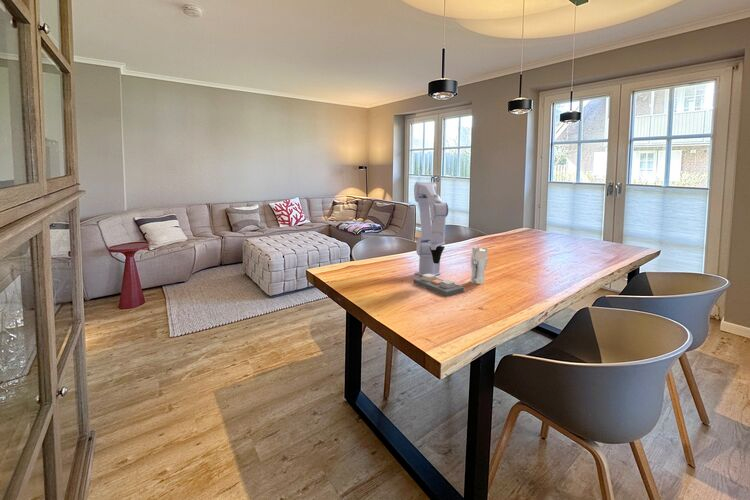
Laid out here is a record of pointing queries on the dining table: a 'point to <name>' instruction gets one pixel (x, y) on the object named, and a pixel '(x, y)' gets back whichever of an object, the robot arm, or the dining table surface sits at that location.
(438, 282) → the terracotta key
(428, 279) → the cream key
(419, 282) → the key board
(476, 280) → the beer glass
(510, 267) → the dining table surface
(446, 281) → the grey key
